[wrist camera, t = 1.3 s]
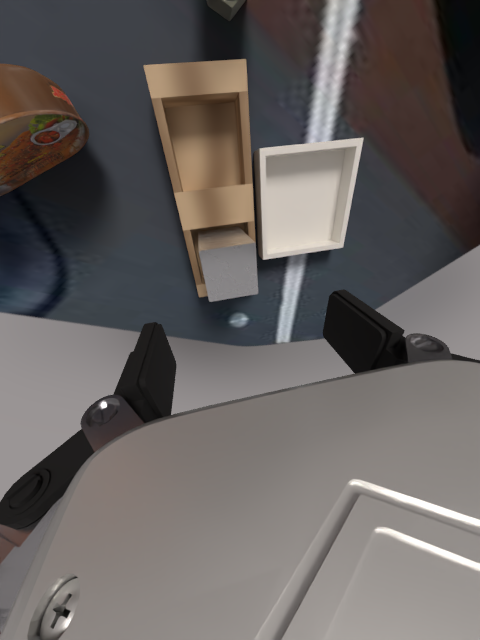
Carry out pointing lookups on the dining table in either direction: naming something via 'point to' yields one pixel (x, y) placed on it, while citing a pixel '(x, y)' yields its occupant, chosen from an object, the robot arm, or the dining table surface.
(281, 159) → the dish
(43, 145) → the tin
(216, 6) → the valve
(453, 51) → the dining table surface
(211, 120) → the wooden compartment tray
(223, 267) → the gray rectangular block
